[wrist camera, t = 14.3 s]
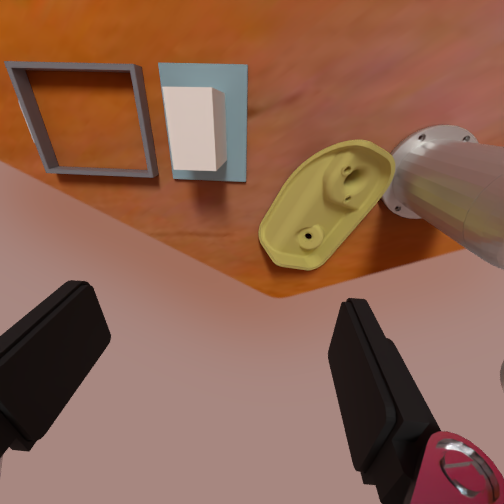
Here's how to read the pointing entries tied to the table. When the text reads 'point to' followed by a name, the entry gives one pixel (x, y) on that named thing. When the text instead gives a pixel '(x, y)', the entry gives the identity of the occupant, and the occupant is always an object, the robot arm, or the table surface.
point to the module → (196, 127)
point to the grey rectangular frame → (38, 127)
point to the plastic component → (325, 203)
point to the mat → (235, 88)
